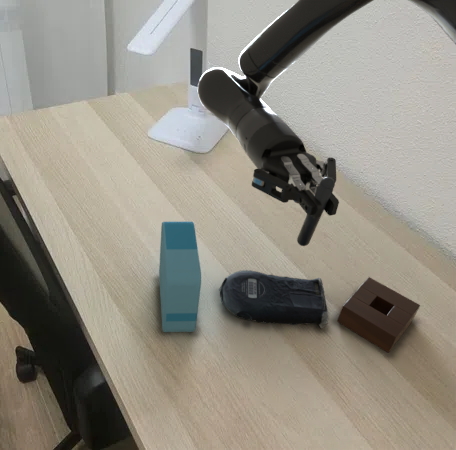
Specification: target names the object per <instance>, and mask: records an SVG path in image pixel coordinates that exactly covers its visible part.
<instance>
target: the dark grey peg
mask: <svg viewBox="0 0 456 450" xmlns="http://www.w3.org/2000/svg"><path fill="white" fill-rule="evenodd" d="M322 178H323V177H322ZM335 186H336V182H334V180H333V179H332V178H330V177H325V178H323V179H322V180H321V182H320V184H319V187H318V189H317V192H316V194H315V198H316V199H317V200H318V201H319V202H320V203H321V204H322V212H321V215H320V217H319V218H315V219H314V218H313V217H312V216H311V215H308V214H307V213H306V216H305V218H304V221H303V224H302V226H301V229H300V230H299V233H298V235H297V238H296V241H297V242H296V243H297V244H298V245H299V246H301V247H306V246H308V245H309V244H310V243H311V240H312V238H313V236H314V234H315V231H316V229H317V226H318V224H319V222H320V220H321V217H322V215H323V213H324V212H325V210H324V208H325V206H326V204H327V202H328V199H329V197H330V195H331V193H333V192H332V190H333V191H334V188H335Z"/></svg>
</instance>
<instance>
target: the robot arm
mask: <svg viewBox="0 0 456 450" xmlns="http://www.w3.org/2000/svg"><path fill="white" fill-rule="evenodd" d="M407 1H409V2H410V3H412V4H414V5H415V6H417V7H418V8H420V9H421V10H423V12H425V13H426V14H428V16H429V17H431V19H432V20H433V21H434V22H435V23H436V24H437V25H438V26H439V28H440V29H441V30H442V31H443V32H444V33H445V35H447V37H448V38H449V39H450V40H451V41H452V42H453V43H454V44H455V45H456V0H407ZM372 2H374V0H297V1H296V2H294V4H293V5H291V6H290V7H289V8H288V9H287V10H286V11H284V12H283V13H282V14H281V15H280V16H278V17H277V18H276V19H275V20H273V21H272V22H271V23H270V24H269V25H267V27H265V28H264V29H263V30H262V31H261V32H260V33H259V34H258V35H257V36H256V37H255V38H254V39H253V40H252V41H250V43H249V44H248V45H247V46H246V47H244V49H243V50H242V51H241V53H240V55H239V57H238V65H239V68H240V70H241V72H242V74H243V75H244V76H241V75H239V74H237V73H236V72H233V71H231V70H230V69H229V70H228V69H226V68H224V67H211V68H210V69H208V70H206V71H205V72H203V74H202V75H201V77H200V78H199V81H198V84H197V95H198V99H199V101H200V104H201V105H202V106H203V107H204V109H206V110H207V111H208V112H209V113H210V114H211V115H212V116H214V117H215V118H216V119H218V120H219V121H220V122H221V123H222V124H224V125H225V126H226V127H227V128H228V129H229V131H230V132H231V133H232V135H233V136H234V137H235V139H236V140H237V141H238V143H239V145H240V147H241V150H243V152H244V153H245V154H246V156H247V157H248V159H249V160H250V161H251V162H252V163H253V165H254V166H255V169H254V170H253V174H252V180H251V187H253V188H255V189H257V190H258V191H260V192H262V193H264V194H266V195H268V196H269V197H272V198H273V199H276V200H278V201H279V202H281V203H284V204H285V203H288V202H289V201H293V202H294V203H296V204H298V205H299V206H300V208H301V209H302V210H303V211H304V213H305V214H306V215H307V214H308V215H311V216H312V217H313V218H314V219H315V218H319V217H320V215H321V212H322V204H321V203H320V202H319V201H318V200H317V199H316V198H315V194H316V192H317V189H318V187H319V184H320V182H321V180H322V179H323V178H325V177H330V178H332V179H333V180H334V182H335V183H336V182H337V160H336V158H333V157H327V159H326V161H324V160H317V158H316V157H315V156H314V155H313V154H310V153H309V152H308V151H307V150H306V149H307V148H306V146H305V144H304V142H303V140H302V139H301V138H300V137H299V136H298V134H297V133H295V132H294V130H293V129H292V128H291V127H290V126H289V124H287V123H286V121H284V119H282V117H281V116H279V115H278V114H276V113H275V112H274V111H273V110H272V109H271V108H270V107H269V106H268V105H267V104H266V102H264V100H262V97H263V96H264V94H265V93H266V92H267V90H268V88H269V87H270V86H271V84H272V82H274V80H275V79H277V78H278V77H280V76H281V74H283V73H284V72H285V71H287V69H288V68H290V67H291V66H292V65H293V64H294V63H296V62H297V61H299V59H300V58H301V57H303V55H304V54H306V52H308V51H309V49H311V48H312V47H313V46H314V45H315V44H316V43H317V42H318V41H319V40H320V39H321V38H322V37H324V36H325V35H326V34H327V33H328V32H329V31H331V30H332V29H333V28H334V27H336V26H337V25H338V24H339V23H341V22H343V20H345V19H346V18H348V17H350V16H351V15H352V14H354V13H356V12H357V11H359V10H360V9H362V8H364V7H365V6H367V5H368V4H371V3H372ZM277 188H279V189H280V190H281V191H280V190H278V189H277ZM333 192H334V189H333V190H332V193H331V195H330V197H329V199H328V202H327V204H326V206H325V208H324V212H325V213H326V214H327V215H328V216H335V215H336V214H337V211H338V208H339V204H340V201H339V199H338V198H337V196H336V195H335V194H334V193H333ZM321 216H322V215H321Z"/></svg>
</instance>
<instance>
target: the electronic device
mask: <svg viewBox="0 0 456 450" xmlns="http://www.w3.org/2000/svg"><path fill="white" fill-rule="evenodd" d="M218 290H219V298H220V302H221V303H222V305H223V306H224V307H225V309H226V310H227V311H228V312H229V313H231V314H232V315H233V316H235V317H237V318H240V319H242V320H245V321H246V320H247V321H251V322H256V323H261V324H277V325H278V324H279V325H308V324H310V325H313V324H314V325H317V326H319V327H320V329H324V327H326V326H327V325H328V323H329V320H330V317H329V313H328V306H327V301H326V295H325V289H324V285H323V279H322V278H321V277H316V278H312V279H306V278H299V277H298V278H296V277H290V276H289V277H288V276H279V275H274V274H266V273H263V272H260V271H255V270H249V269H247V270H244V269H243V270H238V271H235V272H233V273H230V274H229V275H227V276H226V277H225V278H224V280H223V281H222V283H221V286H220V287H219V288H218Z"/></svg>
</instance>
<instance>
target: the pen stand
mask: <svg viewBox="0 0 456 450" xmlns="http://www.w3.org/2000/svg"><path fill="white" fill-rule="evenodd" d="M420 307H421V305H420V304H419V303H417V302H415V301H414V300H412V299H410V298H408V297H406V296H404V295H402V294H401V293H399V292H398V291H396V290H393V289H391V288H390V287H388V286H386V285H384V284H383V283H381V282H379V281H377V280H375V279H373V278H372V277H369V276H368V277H367V278H366V279H365V280H364V281H363V283H362V284H360V286H359V287H357V290H355V292H354V293H352V294H351V296H350V297H349V298H348V299H347V300H346V302H345V303H344V304H343V305H342V306H341V309H340V312H339V315H338V317H337V320H336V322H337V323H339V324H341V325H342V326H344V327H345V328H346V329H349V330H350V331H352V332H353V333H355V334H357V335H359V336H360V337H361V338H364V339H365V340H367V341H368V342H370V343H371V344H373V345H375V346H377V347H378V348H379V349H381V350H383V351H385V352H387V353H390V351H391V350H392V349H393V348H394V347H395V345H396V344H397V342H398V341H399V340H400V338H401V337H402V335H403V334H404V333H405V331H406V330H407V329H408V327H409V326H410V324H411V323H412V322H413V321H414V318H415V316H416V315H417V313H418V311H419V309H420Z"/></svg>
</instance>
